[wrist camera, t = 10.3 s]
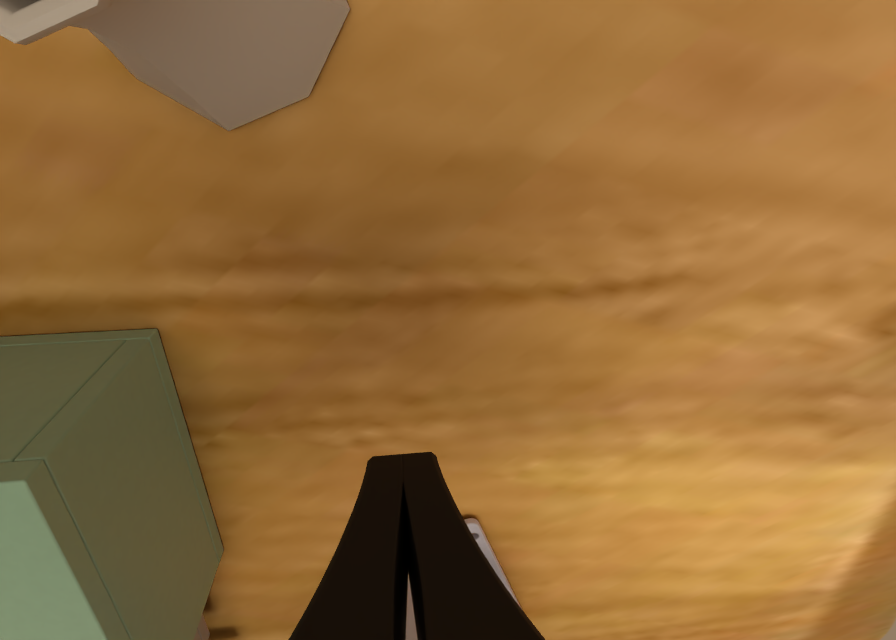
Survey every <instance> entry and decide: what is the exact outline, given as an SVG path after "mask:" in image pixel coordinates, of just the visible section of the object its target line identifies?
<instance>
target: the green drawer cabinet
mask: <svg viewBox="0 0 896 640" xmlns="http://www.w3.org/2000/svg"><path fill="white" fill-rule="evenodd" d="M223 551H224V549H223V546H222V542H221V539H220V536H219V532H218V529H217V526H216V522H215V519H214V516H213V512H212V509H211V506H210V502H209V499H208V496H207V492H206V489H205V486H204V482H203V479H202V476H201V472H200V469H199V466H198V462H197V459H196V456H195V452H194V449H193V446H192V442H191V439H190V436H189V432H188V429H187V426H186V422H185V419H184V416H183V412H182V409H181V406H180V403H179V399H178V396H177V393H176V389H175V386H174V383H173V379H172V376H171V373H170V369H169V366H168V363H167V359H166V356H165V353H164V349H163V346H162V343H161V339H160V336H159V333H158V330H157V329H140V330H121V331H102V332H82V333H63V334H44V335H25V336H6V337H0V640H194V637H195V634H196V631H197V628H198V625H199V622H200V619H201V616H202V613H203V610H204V607H205V604H206V601H207V598H208V595H209V592H210V589H211V586H212V583H213V580H214V577H215V574H216V571H217V568H218V565H219V562H220V560H221V557H222V554H223Z"/></svg>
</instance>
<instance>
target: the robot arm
mask: <svg viewBox="0 0 896 640" xmlns="http://www.w3.org/2000/svg"><path fill="white" fill-rule="evenodd" d="M472 533H474V534H472ZM289 640H545V639H544V637H543V636H542V635H541V634H540V632H539V631H538V630H537V628H536V627H535V626H534V625H533V623H532V622H531V621H530V620H529V618H528V617H527V616H526V614H525V613H524V612H523V610H522V608H521V606H520V604H519V602H518V600H517V598H516V596H515V594H514V592H513V590H512V588H511V586H510V584H509V582H508V580H507V578H506V576H505V574H504V572H503V570H502V568H501V566H500V564H499V562H498V560H497V558H496V556H495V554H494V552H493V550H492V548H491V546H490V544H489V542H488V540H487V538H486V536H485V534H484V532H483V529H482V527H481V525H480V523H479V522H478V520H476V519H474V518H468V519H465V520H464V519H463V517H462V515H461V514H460V512H459V510H458V508H457V506H456V504H455V502H454V500H453V498H452V496H451V493H450V491H449V489H448V487H447V485H446V482H445V480H444V478H443V475H442V473H441V470H440V467H439V464H438V461H437V457H436V455H434V454H433V453H432V452H423V453H411V454H398V455H386V456H373V457H372V458H371V459H370V460H368V462H367V467H366V472H365V476H364V479H363V483H362V486H361V489H360V492H359V495H358V498H357V501H356V503H355V506H354V509H353V512H352V514H351V516H350V519H349V521H348V524H347V526H346V528H345V531H344V533H343V536H342V538H341V540H340V543H339V545H338V547H337V549H336V551H335V554H334V556H333V558H332V560H331V562H330V564H329V566H328V568H327V570H326V572H325V574H324V576H323V578H322V580H321V582H320V584H319V586H318V588H317V590H316V592H315V594H314V596H313V598H312V599H311V601H310V603H309V605H308V607H307V609H306V610H305V612H304V614H303V616H302V618H301V619H300V621H299V623H298V624H297V626H296V628H295V630H294V631H293V633H292V635H291V637H290V638H289Z"/></svg>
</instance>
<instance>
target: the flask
mask: <svg viewBox="0 0 896 640" xmlns="http://www.w3.org/2000/svg"><path fill="white" fill-rule="evenodd" d="M349 10H350V8H349V5H348V3H347V0H0V35H1V36H3V37H5V38H7V39H8V40H10V41H12V42H14V43H17V44H23V45H27V44H29V43H32V42H34V41H37V40H39V39H41V38H43V37H45V36H48V35H50V34H52V33H54V32H56V31H58V30H61V29H63V28H65V27H67V26H74V27H80V28H86V29H88V30H89V31H90V32H91V33H92V34H93V35H95V36H96V37H97V38H98V39H99V40H100V41H101V42H102V43H103V44H104V45H105V46H107V47H108V48H109V49H110V50H111V52H112V53H113V54H114V55H115V56H116V57H117V58H118V59H119V60H120V62H121V63H122V64H123V65H124V66H125V67H126V68H127V69H128V70H129V72H130V73H131V74H133V75H134V76H135V77H136V78H137V79H138V80H140V81H142V82H144V83H145V84H147V85H149V86H151V87H152V88H154V89H156V90H158V91H159V92H161V93H163V94H165V95H166V96H168V97H170V98H172V99H173V100H175V101H177V102H179V103H181V104H182V105H184V106H186V107H188V108H189V109H191V110H193V111H195V112H196V113H198V114H200V115H202V116H203V117H205V118H207V119H209V120H210V121H212V122H214V123H216V124H218V125H219V126H221V127H223V128H225V129H226V130H228V131H230V130H232V129H235V128H237V127H239V126H242V125H244V124H246V123H249V122H251V121H253V120H255V119H258V118H260V117H262V116H265V115H267V114H269V113H272V112H274V111H276V110H279V109H281V108H283V107H285V106H288V105H290V104H292V103H295V102H297V101H299V100H302V99H304V98H306V97H309V95H310V93H311V91H312V88H313V86H314V84H315V82H316V80H317V78H318V76H319V74H320V72H321V69H322V67H323V65H324V63H325V61H326V59H327V57H328V55H329V53H330V50H331V48H332V46H333V44H334V42H335V40H336V38H337V36H338V34H339V31H340V29H341V27H342V25H343V23H344V21H345V19H346V17H347V15H348V12H349Z"/></svg>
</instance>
